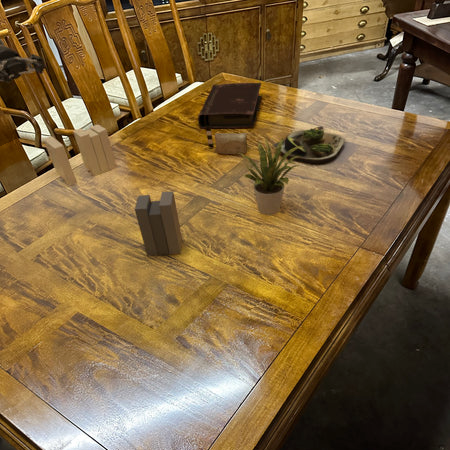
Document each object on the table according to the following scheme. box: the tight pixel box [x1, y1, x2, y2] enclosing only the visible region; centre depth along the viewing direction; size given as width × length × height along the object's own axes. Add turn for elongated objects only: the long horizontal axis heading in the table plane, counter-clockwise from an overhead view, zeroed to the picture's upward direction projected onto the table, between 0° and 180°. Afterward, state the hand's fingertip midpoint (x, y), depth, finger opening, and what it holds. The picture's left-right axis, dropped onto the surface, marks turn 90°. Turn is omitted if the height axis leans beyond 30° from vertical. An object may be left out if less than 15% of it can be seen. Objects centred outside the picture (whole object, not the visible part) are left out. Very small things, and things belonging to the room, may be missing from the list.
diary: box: [197, 82, 262, 129], centre depth 139 cm, size 19×25×5 cm
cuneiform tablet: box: [204, 126, 248, 155], centre depth 119 cm, size 7×4×12 cm
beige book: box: [42, 135, 78, 187], centre depth 114 cm, size 8×2×11 cm, turn 39°
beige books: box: [72, 124, 118, 177], centre depth 116 cm, size 5×7×12 cm
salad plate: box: [272, 125, 345, 165], centre depth 118 cm, size 19×18×5 cm
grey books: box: [134, 190, 183, 257], centre depth 88 cm, size 5×7×12 cm
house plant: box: [237, 137, 303, 216], centre depth 94 cm, size 14×14×16 cm
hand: (24, 73), depth 107 cm, fingers open, 8 cm apart
